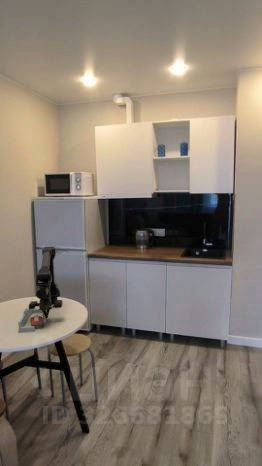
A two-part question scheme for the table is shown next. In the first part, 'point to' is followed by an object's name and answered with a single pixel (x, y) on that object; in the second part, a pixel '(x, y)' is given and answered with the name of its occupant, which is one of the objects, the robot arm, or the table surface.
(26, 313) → the mounting bracket
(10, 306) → the table surface
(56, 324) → the table surface
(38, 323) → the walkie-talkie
